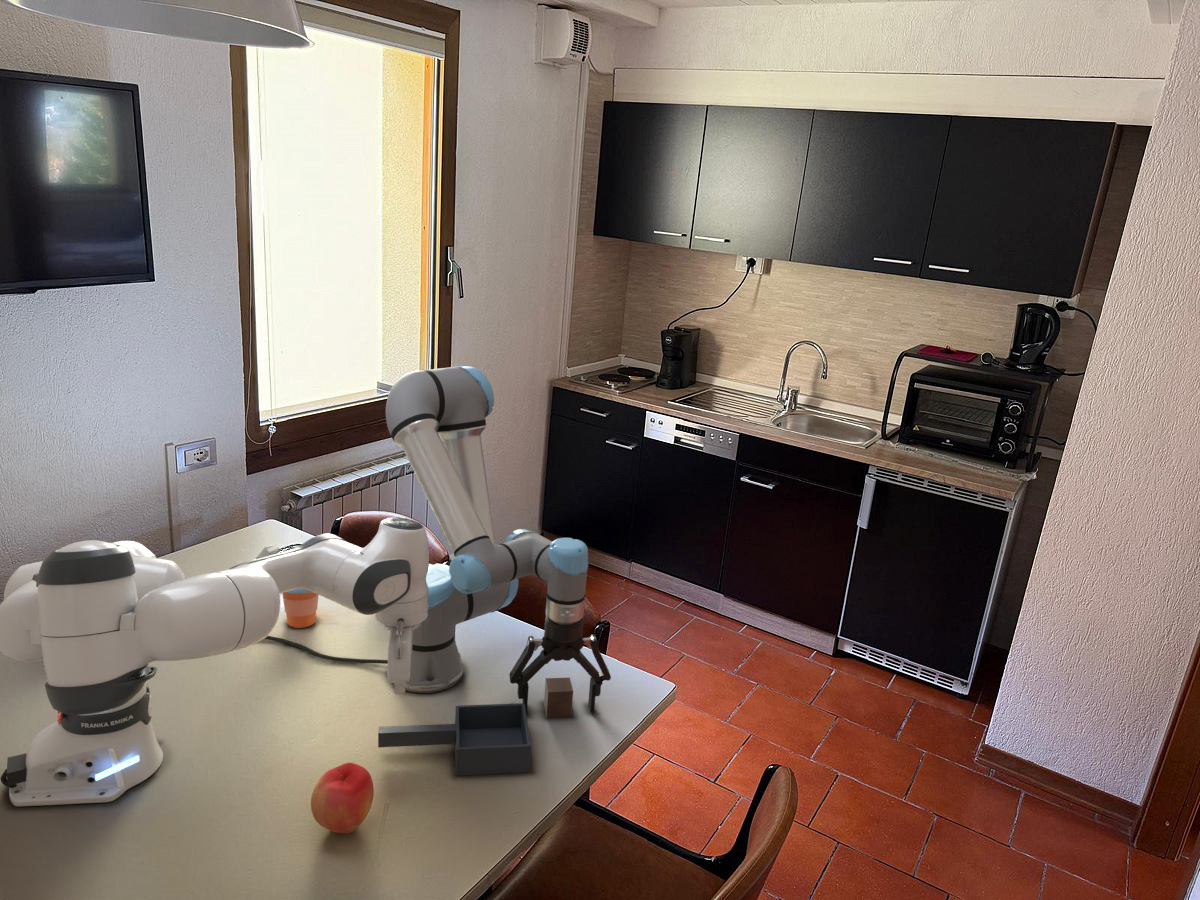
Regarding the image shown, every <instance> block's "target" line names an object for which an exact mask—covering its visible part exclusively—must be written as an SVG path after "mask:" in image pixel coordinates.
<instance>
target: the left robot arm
mask: <svg viewBox="0 0 1200 900" xmlns="http://www.w3.org/2000/svg"><path fill="white" fill-rule="evenodd" d="M428 538H429V537H428V533H427V531H426V528H425V526H424V525H423V524H421V522H418V521H416V520H413V519H410V518H407V517H399V516H398V517H397V516H395V517H387V518H384V519H382V520H381V521H380V522H379V525H378V530H377V532H376V534H375V536H374V537H373V538H372V539H371V540H370V542H369V543H367V545H366V546H364V547H360V546H359V545H356V544H354V543H350V542H349V541H347V540H345V539H344V538H342V537H340V536H338V535H336V534H333V533H321V534H318V535H315V536H313V537H311V538H310V539H308V540H306V541H305V542H302V543H301V544H300V545H298V546H296V547H294V548H291V549H289V550H285V551H281V552H278V553H277V554H273V555H270V556H266V557H262V558H258V559H256V558H255V559H252V560H247V561H244V562H241V563H238V564H236V565H234V566H232V567H230V568H228V569H224V570H219V571H212V572H207V573H202V574H198V575H194V576H190V577H187V578H186V577H185V574H184V572H183V570H182V568H180V566H179V565H178V564H177V563H176V562H175V561H174V560H171V559H164V558H159V557H156V558H152V557H145V556H136V557H131V554H130V552H129V551H128V550H127V549H125V548H124V547H122V546H121V545H114V544H111V543H112V542H107V541H103V540H98V539H97V540H93V539H90V540H89V539H87V540H81V541H76V542H72V543H69V544H67V545H65V546H63V547H60V548H59V549H54V550H52V551H51V552H50V553H49V554H48V555H47V556H46V558H44V560H42V561H41V560H40V561H37V562H32V563H31V562H30V563H27V564H23V565H20V566H19V567H18V568H16V570H15V571H14V572H13V573H12V574H11V576H10V577H9V579H8V580H7V582H6V585H5V588H4V592H3V601H1V603H0V653H1V654H2V655H4V656H5V657H7V658H9V659H11V660H14V661H17V662H23V663H32V662H34V663H35V662H41V661H42V662H43V668H44V673H45V678H46V682H45V683H44V687H45V693H46V695H47V698H48V701H49V703H50V705H51V707H52V709H53V710H55V711H57V720H55V721H54V722H53V723H51V724H49V725H48V726H47V727H45V728H43V729H42V730H41V731H39V733H37V735H35V737H34V738H33V740H32V742H31V743H30V745H29V746H28V749H27V752H26V753H21V754H17V755H12V756H8V757H7V763H6V769H5V770H4V771H3V773H1V776H0V782H1V784H2V785H3V786H5V787H7V788H8V797H9V800H10V802H11V804H12V805H13V806H15V807H34V806H35V807H37V806H56V805H57V806H58V805H59V806H60V805H76V804H77V805H78V804H96V803H98V804H99V803H110V802H113V801H115V800H117V799H118V798H119V797H121V796H122V795H123V794H124V793H125V792H126V791H127V790H129V789H131V788H133V787H135V786H136V785H139V784H141V783H143V782H144V781H145V780H147V779H148V778H149V777H151V776H152V775H154V774H155V773H156V771H158V769H159V768H160V767H161V765H162V763H163V760H164V751H163V749H162V747H161V745H160V744H159V742H158V739H157V736H156V734H155V730H154V727H153V723H152V716H153V703H152V695H151V692H150V687H149V685H148V683H147V681H149V680H151V679H152V678H154V677H155V676H156V674H157V672H158V667H156V666H149V664H150V663H152V662H175V661H176V662H179V661H189V660H195V659H196V660H197V659H204V658H209V657H214V656H218V655H223V654H227V653H230V652H234V651H238V650H242V649H245V648H248V647H250V646H253V645H255V644H257V643H259V642H261V641H263V640H265V639H264V638H266V637H267V636H270V634H271V632H272V631H273V630H274V628H275V626H276V624H277V623H278V620H279V617H280V613H281V594H283V593H284V592H288V591H291V590H294V589H304V590H307V591H309V592H312V593H315V594H318V596H320V597H323V598H325V599H327V600H329V601H332V602H334V603H336V604H339V605H341V606H342V607H344V608H347V609H349V610H352V611H353V612H355V613H359V614H362V615H366V616H372V615H375V618H376V621H378V622H379V623H380V624H382V626H383V627H384V629H385V630H387V631H389V634H388V643H387V660H388V664H387V682H388V683H391V684H393V686H394V687H393V688H394V689H393V690H394V694H396V695H404V694H405V693H406V690H405V683H406V682H409V680H410V673H411V659H412V644H413V630H415V629H416V628H418V627H419V625H420V623H421V622H423V621H424V620H425V619H426V618H427V615H428V585H427V582H426V575H427V572H428V568H429V564H430V556H429V555H430V549H429V539H428Z"/></svg>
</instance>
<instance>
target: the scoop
mask: <svg viewBox="0 0 1200 900" xmlns="http://www.w3.org/2000/svg"><path fill="white" fill-rule="evenodd" d="M454 710H455V711H454V713H455V714H454V723H444V724H420V725H419V724H416V725H392V726H391V725H390V726H379V727H378V730H377V731H378V733H377V748H396V747H398V748H399V747H418V746H421V747H422V746H440V745H441V746H442V745H454V749H455V750H454V754H455V755H454V761H455V763H454V764H455V767H454V768H455V776H457V777H458V776H459V777H460V776H476V775H477V776H480V775H496V774H497V775H498V774H516V773H517V774H519V773H530V768H531V754H532V753H531V752H532V751H531V750H532V744H531V737H530V730H529V729H530V728H529V724H528V715H526V710H525V703H522V702H521V703H492V704H491V703H490V704H462V705H460V704H459V705H455V709H454Z"/></svg>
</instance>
